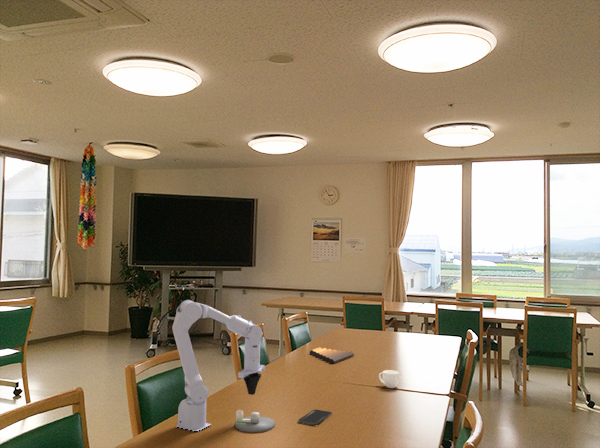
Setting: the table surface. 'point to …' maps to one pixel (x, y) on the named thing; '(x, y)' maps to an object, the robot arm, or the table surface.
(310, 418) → the phone
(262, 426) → the dial plate
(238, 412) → the tuning lever
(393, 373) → the cup
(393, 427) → the table surface
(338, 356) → the pan flute
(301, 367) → the table surface
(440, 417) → the table surface
